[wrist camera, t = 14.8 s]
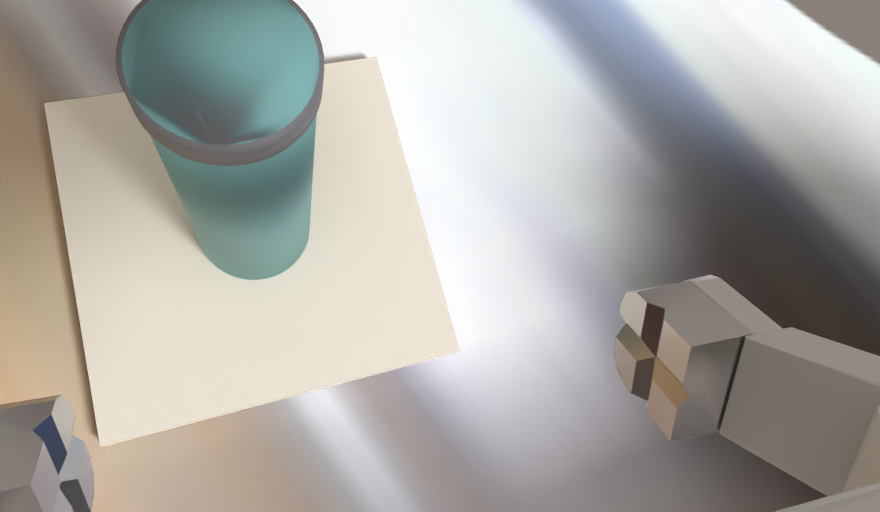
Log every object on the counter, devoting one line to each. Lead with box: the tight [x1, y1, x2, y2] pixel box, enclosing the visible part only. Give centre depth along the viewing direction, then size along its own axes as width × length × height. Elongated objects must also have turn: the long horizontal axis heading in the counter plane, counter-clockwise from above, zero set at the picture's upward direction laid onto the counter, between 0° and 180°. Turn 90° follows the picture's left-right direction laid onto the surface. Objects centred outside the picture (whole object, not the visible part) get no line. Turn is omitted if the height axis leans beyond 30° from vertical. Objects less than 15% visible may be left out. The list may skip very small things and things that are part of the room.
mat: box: [44, 57, 460, 446], centre depth 24 cm, size 12×12×1 cm
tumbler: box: [116, 0, 324, 280], centre depth 19 cm, size 4×4×11 cm
